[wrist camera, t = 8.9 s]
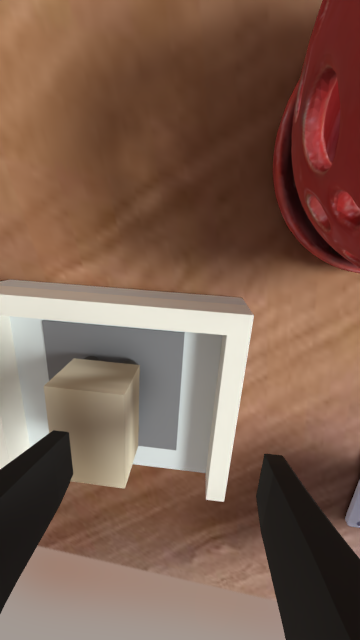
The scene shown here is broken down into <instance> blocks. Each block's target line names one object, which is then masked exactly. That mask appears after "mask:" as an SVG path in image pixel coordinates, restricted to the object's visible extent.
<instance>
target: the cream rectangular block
mask: <svg viewBox="0 0 360 640" xmlns="http://www.w3.org/2000/svg"><path fill="white" fill-rule="evenodd" d="M139 375H140V365H138V364H137V363H136V362H135V361H132V360H126V361H123V362H122V363H115V362H105V361H101V360H100V359H99V358H97V357H94V356H89V357H86V358H84V359H76V358H74V359H73V360H71V361H70V362H69V363H68V364H67V365H66V366H65V367H64V368H63V369H62V370H61V371H60V372H58V373H57V374H56V375H55V376H54V377H53V378H52V379H51V380H50V381H49V382H48V383H46V384H45V385H44V394H45V403H46V411H47V419H48V428H49V433H50V432H52V431H53V430H56V431H65V432H69V438H70V447H71V456H72V465H73V476H72V478H71V481H72V482H80V483H87V484H95V485H102V486H110V487H117V488H125V486H126V483H127V480H128V477H129V474H130V471H131V467H132V464H133V461H134V458H135V455H136V451H137V448H138V432H139Z"/></svg>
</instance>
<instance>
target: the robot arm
mask: <svg viewBox="0 0 360 640" xmlns="http://www.w3.org/2000/svg"><path fill="white" fill-rule="evenodd" d="M72 476H73V465H72V456H71V447H70V438H69V432H65V431H56V430H53V431H52V432H50V433H49V434H47V435H46V436H45V437H43V438H42V439H41V440H39V441H38V442H37V443H35V444H34V445H33V446H31V447H30V448H29V449H27V450H26V451H25V452H23V453H22V454H21V455H19V456H18V457H16V458H15V459H14V460H12V461H11V462H10V463H8V464H7V465H6V466H4V467H3V468H1V469H0V613H1V611H2V609H3V607H4V605H5V603H6V601H7V599H8V597H9V596H10V594H11V592H12V590H13V588H14V586H15V584H16V582H17V580H18V579H19V577H20V575H21V573H22V572H23V570H24V568H25V566H26V565H27V563H28V561H29V559H30V558H31V556H32V554H33V552H34V550H35V549H36V547H37V545H38V543H39V542H40V540H41V538H42V536H43V534H44V533H45V531H46V529H47V527H48V526H49V524H50V522H51V520H52V518H53V517H54V515H55V513H56V511H57V509H58V507H59V506H60V504H61V501H62V499H63V497H64V495H65V492H66V490H67V488H68V485H69V483H70V481H71V478H72ZM256 498H257V506H258V514H259V521H260V528H261V534H262V538H263V543H264V547H265V551H266V556H267V560H268V564H269V569H270V573H271V577H272V581H273V586H274V590H275V594H276V598H277V603H278V607H279V611H280V616H281V619H282V624H283V629H284V633H285V638H286V640H360V559H359V557H358V556H357V555H356V554H355V553H354V551H353V550H352V549H351V548H350V546H349V545H348V544H347V543H346V541H345V540H344V539H343V538H342V536H341V535H340V534H339V533H338V531H337V530H336V529H335V527H334V526H333V525H332V523H331V522H330V521H329V519H328V518H327V517H326V516H325V514H324V513H323V512H322V510H321V509H320V508H319V506H318V505H317V504H316V502H315V501H314V499H313V498H312V497H311V495H310V494H309V493H308V491H307V490H306V488H305V487H304V486H303V484H302V483H301V481H300V480H299V479H298V477H297V476H296V474H295V473H294V471H293V470H292V468H291V467H290V466H289V464H288V463H287V461H286V460H285V458H284V457H283V456H281V455H272V454H264V459H263V464H262V469H261V474H260V479H259V485H258V490H257V495H256ZM345 520H346V522H347V524H348V525H349V526H351V527H358V528H360V480H359V482H358V485H357V488H356V490H355V493H354V495H353V498H352V501H351V503H350V506H349V509H348V511H347V514H346V517H345Z"/></svg>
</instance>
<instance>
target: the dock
mask: <svg viewBox="0 0 360 640" xmlns="http://www.w3.org/2000/svg"><path fill="white" fill-rule="evenodd" d="M253 318H254V315H253V313H252V312H251V310H250V309H249V307H248V306H247V304H246V303H245V301H244V300H243V298H239V297H226V296H213V295H201V294H188V293H175V292H162V291H149V290H137V289H124V288H111V287H98V286H86V285H73V284H60V283H47V282H35V281H22V280H5V281H0V469H1V468H3V467H4V466H6V465H7V464H8V463H10V462H11V461H12V460H14V459H15V458H16V457H18V456H19V455H21V454H22V453H23V452H25V451H26V450H27V449H29V448H30V447H31V446H33V445H34V444H35V443H37V442H38V441H39V440H41V439H42V438H43V437H45V436H46V435H47V434H49V428H48V419H47V411H46V403H45V394H44V385H45V384H46V383H48V382H49V381H50V380H51V379H52V378H53V377H54V376H55V375H56V374H57V373H58V372H60V371H61V370H62V369H63V368H64V367H65V366H66V365H67V364H68V363H69V362H70V361H71V360H73V359H74V358H76V359H84V358H86V357H89V356H94V357H97V358H99V359H100V360H101V361H105V362H115V363H122V362H123V361H126V360H132V361H135V362H136V363H137V364H138V365H140V375H139V432H138V448H137V451H136V455H135V458H134V461H133V464H137V465H145V466H153V467H161V468H169V469H177V470H185V471H193V472H201V473H206V500H213V501H221V502H224V499H225V493H226V486H227V480H228V474H229V468H230V461H231V455H232V449H233V443H234V436H235V430H236V424H237V418H238V411H239V405H240V399H241V393H242V386H243V380H244V374H245V368H246V361H247V355H248V349H249V343H250V336H251V330H252V324H253Z"/></svg>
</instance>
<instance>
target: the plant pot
mask: <svg viewBox="0 0 360 640" xmlns="http://www.w3.org/2000/svg"><path fill="white" fill-rule="evenodd" d="M273 181H274V189H275V194H276V198H277V202H278V205H279V208H280V211H281V214H282V216H283V218H284V220H285V222H286V224H287V226H288V228H289V229H290V231H291V232H292V233H293V235H294V236H295V237H296V239H297V240H298V241H299V242H300V243H301V244H302V245H303V246H304V247H305V248H306V249H307V250H308V251H309V252H311V253H312V254H313V255H315V256H316V257H318V258H319V259H321V260H323V261H324V262H326V263H328V264H330V265H332V266H335V267H337V268H340V269H343V270H347V271H351V272H356V273H360V0H323V1H322V4H321V7H320V10H319V12H318V15H317V19H316V22H315V25H314V28H313V31H312V34H311V38H310V41H309V45H308V48H307V52H306V56H305V60H304V64H303V68H302V72H301V76H300V79H299V81H298V83H297V84H296V86H295V88H294V90H293V92H292V94H291V96H290V99H289V101H288V103H287V105H286V108H285V110H284V113H283V116H282V119H281V122H280V126H279V129H278V132H277V136H276V142H275V149H274V157H273Z"/></svg>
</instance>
